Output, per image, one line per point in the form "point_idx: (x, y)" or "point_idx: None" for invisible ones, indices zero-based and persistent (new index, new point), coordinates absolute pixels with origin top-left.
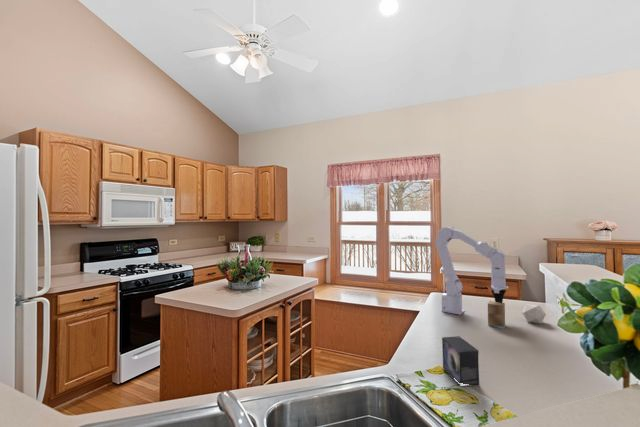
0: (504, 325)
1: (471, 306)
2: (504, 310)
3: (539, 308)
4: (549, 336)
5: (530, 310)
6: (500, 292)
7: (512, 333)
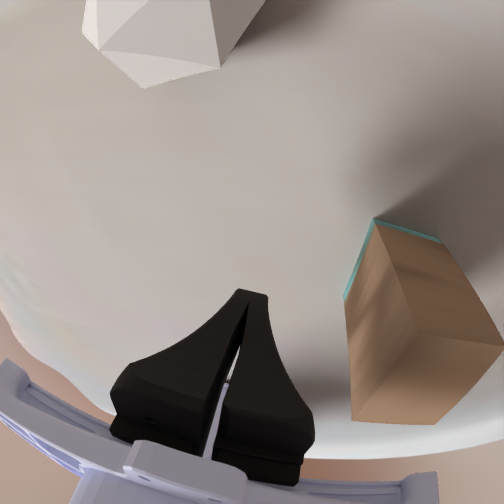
0: (405, 230)
1: (98, 330)
2: (423, 288)
3: None
4: (475, 10)
5: (219, 10)
6: (303, 452)
7: (498, 207)
